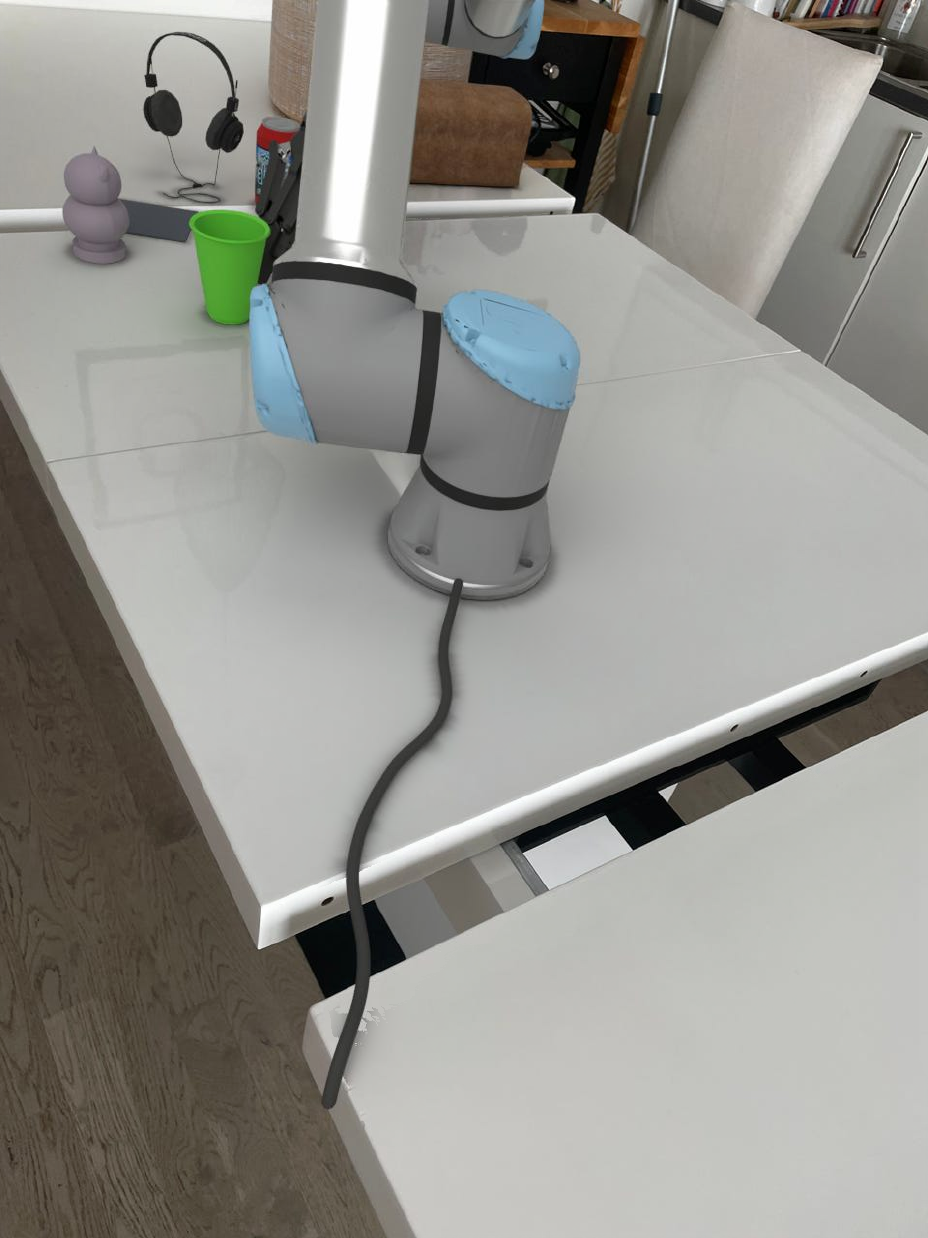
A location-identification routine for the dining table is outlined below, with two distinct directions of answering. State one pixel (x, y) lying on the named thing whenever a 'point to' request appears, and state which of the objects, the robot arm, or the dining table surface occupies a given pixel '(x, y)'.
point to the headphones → (168, 117)
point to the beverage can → (267, 132)
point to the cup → (229, 261)
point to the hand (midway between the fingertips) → (255, 278)
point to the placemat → (158, 220)
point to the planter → (295, 52)
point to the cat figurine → (95, 209)
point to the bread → (469, 134)
